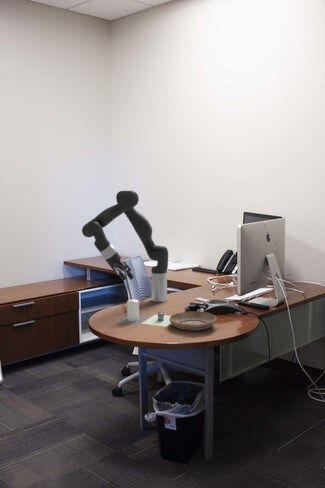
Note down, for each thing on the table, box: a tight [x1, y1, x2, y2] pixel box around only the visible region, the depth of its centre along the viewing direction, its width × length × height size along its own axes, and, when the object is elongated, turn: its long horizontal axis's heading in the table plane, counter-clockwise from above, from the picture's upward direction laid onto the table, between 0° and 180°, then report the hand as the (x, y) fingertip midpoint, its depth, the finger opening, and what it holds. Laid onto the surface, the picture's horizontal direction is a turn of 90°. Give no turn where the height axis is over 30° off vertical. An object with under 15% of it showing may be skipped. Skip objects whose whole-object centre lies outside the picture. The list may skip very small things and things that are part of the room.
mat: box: [115, 314, 151, 326], centre depth 269 cm, size 16×12×1 cm
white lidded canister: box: [126, 298, 140, 321], centre depth 268 cm, size 6×6×10 cm
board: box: [140, 313, 172, 328], centre depth 267 cm, size 18×14×1 cm
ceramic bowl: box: [169, 311, 217, 331], centre depth 256 cm, size 23×24×5 cm
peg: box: [157, 311, 165, 321], centre depth 267 cm, size 3×3×4 cm
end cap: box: [187, 302, 210, 313], centre depth 275 cm, size 10×7×7 cm
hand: (128, 279), depth 268 cm, fingers open, 8 cm apart
